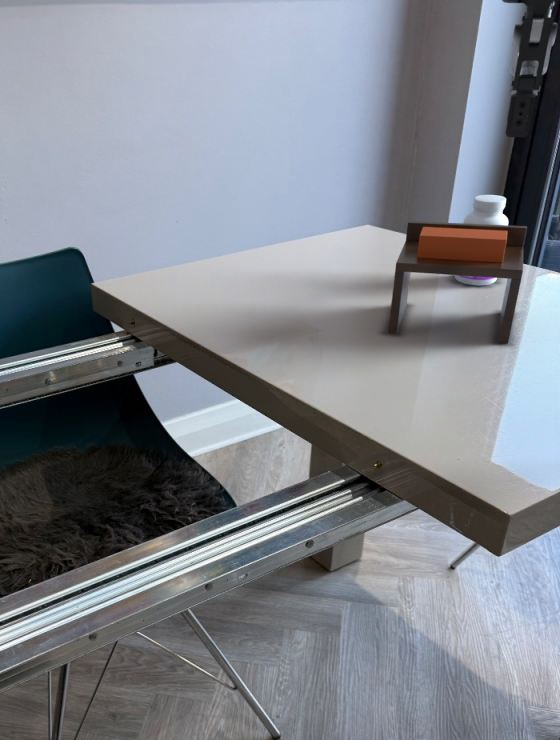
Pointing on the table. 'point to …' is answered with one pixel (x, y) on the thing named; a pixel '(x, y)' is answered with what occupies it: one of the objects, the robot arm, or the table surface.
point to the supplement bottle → (489, 214)
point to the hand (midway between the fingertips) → (516, 129)
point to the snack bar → (462, 244)
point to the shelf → (460, 269)
